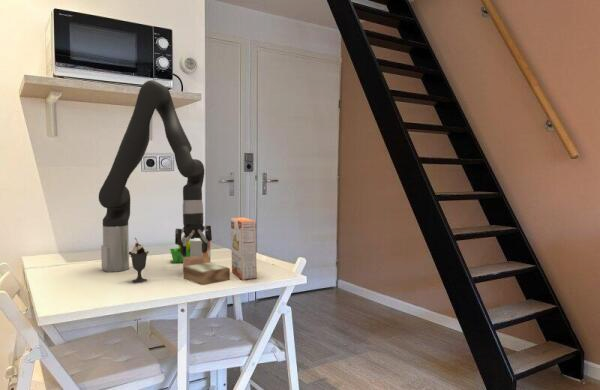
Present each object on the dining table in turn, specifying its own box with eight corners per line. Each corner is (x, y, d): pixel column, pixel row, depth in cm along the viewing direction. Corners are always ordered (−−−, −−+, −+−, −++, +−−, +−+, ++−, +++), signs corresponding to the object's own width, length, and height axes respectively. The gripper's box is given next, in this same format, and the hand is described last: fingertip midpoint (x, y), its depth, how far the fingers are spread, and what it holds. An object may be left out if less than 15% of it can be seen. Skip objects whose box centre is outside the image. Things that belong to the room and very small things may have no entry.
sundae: (133, 278, 158) (132, 236, 157) (152, 278, 158) (151, 236, 157) (125, 283, 151) (125, 239, 150) (145, 283, 151) (144, 239, 150)
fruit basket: (197, 258, 194) (196, 233, 193) (199, 262, 186) (198, 236, 185) (170, 260, 190) (169, 234, 190) (170, 264, 182) (170, 237, 181)
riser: (202, 284, 149) (202, 272, 149) (183, 277, 159) (183, 266, 159) (229, 279, 157) (229, 267, 156) (210, 273, 166) (210, 261, 166)
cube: (190, 274, 165) (190, 259, 164) (183, 272, 169) (183, 257, 169) (203, 272, 168) (203, 257, 168) (196, 269, 173) (195, 255, 172)
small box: (203, 266, 178) (202, 240, 177) (190, 266, 179) (189, 240, 178) (210, 262, 185) (210, 237, 185) (198, 262, 187) (198, 237, 186)
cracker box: (230, 272, 168) (230, 217, 167) (246, 270, 171) (245, 216, 169) (240, 280, 155) (240, 221, 154) (257, 278, 158) (256, 220, 157)
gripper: (204, 209, 175) (205, 250, 176) (170, 212, 165) (172, 255, 166) (214, 210, 170) (215, 252, 171) (180, 213, 160) (182, 258, 161)
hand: (194, 254), depth 168 cm, fingers open, 8 cm apart
